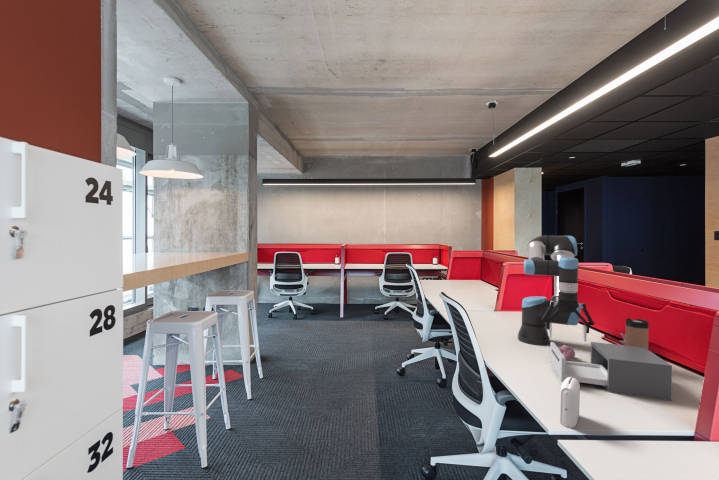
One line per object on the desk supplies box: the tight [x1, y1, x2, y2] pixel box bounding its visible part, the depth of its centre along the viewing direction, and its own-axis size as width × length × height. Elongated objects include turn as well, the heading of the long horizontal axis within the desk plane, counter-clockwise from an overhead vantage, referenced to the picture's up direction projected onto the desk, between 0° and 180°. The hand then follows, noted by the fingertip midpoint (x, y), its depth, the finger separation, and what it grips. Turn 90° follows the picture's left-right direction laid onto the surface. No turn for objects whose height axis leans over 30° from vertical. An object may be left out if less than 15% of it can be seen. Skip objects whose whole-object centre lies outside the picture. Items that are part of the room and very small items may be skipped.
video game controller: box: [558, 344, 576, 361], centre depth 152 cm, size 10×5×7 cm, turn 169°
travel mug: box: [624, 317, 650, 350], centre depth 143 cm, size 8×8×20 cm
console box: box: [590, 341, 673, 401], centre depth 126 cm, size 18×20×12 cm
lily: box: [619, 332, 625, 345], centre depth 157 cm, size 12×12×10 cm
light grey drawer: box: [549, 341, 608, 387], centre depth 131 cm, size 18×20×9 cm
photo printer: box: [559, 377, 581, 429], centre depth 101 cm, size 10×4×12 cm, turn 140°
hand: (567, 338), depth 151 cm, fingers open, 13 cm apart
